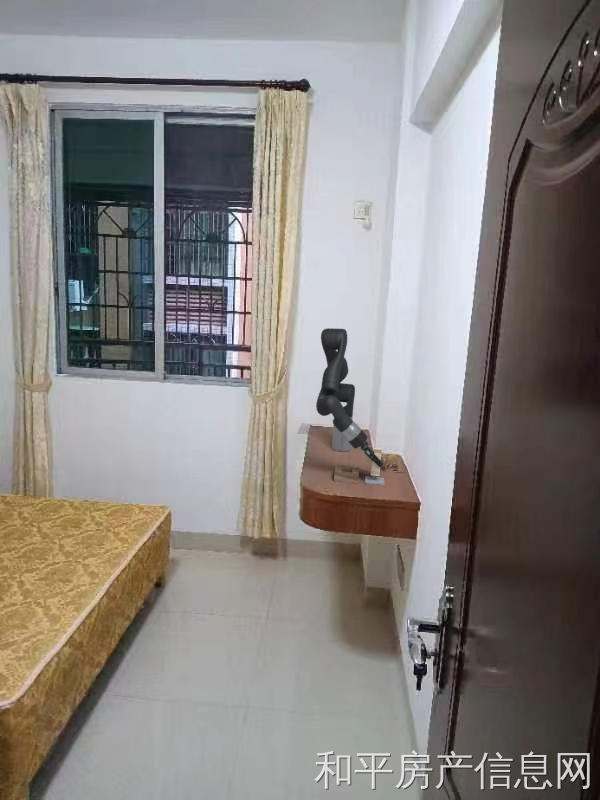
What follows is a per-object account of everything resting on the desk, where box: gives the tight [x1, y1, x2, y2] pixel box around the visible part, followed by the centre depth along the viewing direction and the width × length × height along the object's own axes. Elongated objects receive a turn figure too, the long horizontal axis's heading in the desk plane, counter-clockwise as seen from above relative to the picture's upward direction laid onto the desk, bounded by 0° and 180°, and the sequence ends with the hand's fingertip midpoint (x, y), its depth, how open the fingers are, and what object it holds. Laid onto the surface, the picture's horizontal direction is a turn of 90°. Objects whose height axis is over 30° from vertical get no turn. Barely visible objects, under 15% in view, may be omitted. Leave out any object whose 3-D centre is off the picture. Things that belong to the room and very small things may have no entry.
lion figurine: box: [380, 451, 400, 473], centre depth 267 cm, size 15×5×9 cm, turn 138°
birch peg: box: [370, 447, 383, 477], centre depth 249 cm, size 4×4×11 cm
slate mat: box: [364, 475, 386, 486], centre depth 250 cm, size 8×8×1 cm
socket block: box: [333, 465, 360, 484], centre depth 252 cm, size 10×10×4 cm
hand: (380, 463), depth 249 cm, fingers closed on birch peg, 4 cm apart
